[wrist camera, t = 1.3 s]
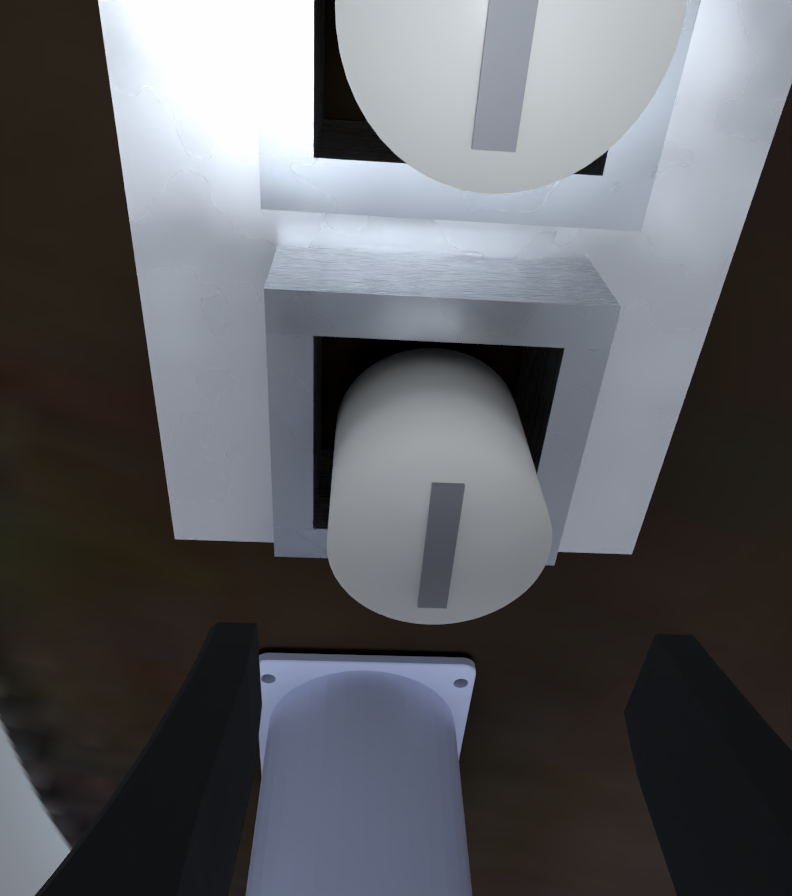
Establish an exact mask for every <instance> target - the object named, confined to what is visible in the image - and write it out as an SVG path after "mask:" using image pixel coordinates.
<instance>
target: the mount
mask: <svg viewBox="0 0 792 896" xmlns="http://www.w3.org/2000/svg"><path fill="white" fill-rule="evenodd" d="M98 3H99V10H100V17H101V24H102V31H103V38H104V45H105V52H106V59H107V66H108V73H109V80H110V87H111V94H112V101H113V108H114V115H115V122H116V129H117V136H118V143H119V150H120V157H121V164H122V171H123V178H124V185H125V192H126V199H127V206H128V213H129V220H130V227H131V234H132V241H133V249H134V256H135V263H136V270H137V277H138V284H139V291H140V298H141V305H142V312H143V319H144V326H145V333H146V340H147V347H148V354H149V361H150V368H151V375H152V382H153V389H154V396H155V403H156V410H157V417H158V424H159V431H160V438H161V445H162V452H163V459H164V466H165V473H166V480H167V487H168V494H169V501H170V508H171V515H172V522H173V529H174V536H175V539H185V540H216V541H246V542H274V555H275V556H276V557H308V558H328V556H327V532H328V520H329V507H330V495H331V482H332V470H333V458H334V450H321V443H322V336H330V337H350V338H371V339H391V340H411V341H432V342H452V343H473V344H493V345H513V346H524V350H523V356H522V361H521V367H520V372H519V377H518V383H517V388H516V394H515V399H514V401H515V404H516V407H517V410H518V414H519V417H520V420H521V424H522V427H523V430H524V434H525V437H526V440H527V444H528V447H529V450H530V454H531V457H532V460H533V464H534V467H535V470H536V474H537V477H538V480H539V483H540V487H541V490H542V493H543V497H544V500H545V503H546V507H547V510H548V513H549V517H550V521H551V526H552V545H551V551H550V554H549V557H548V560H547V563H546V565H555V561H556V557H557V553H558V552H579V553H610V554H632V552H633V549H634V546H635V543H636V540H637V537H638V534H639V532H640V529H641V526H642V523H643V520H644V517H645V514H646V511H647V508H648V505H649V502H650V499H651V496H652V493H653V490H654V487H655V484H656V481H657V478H658V475H659V472H660V470H661V467H662V464H663V461H664V458H665V455H666V452H667V449H668V446H669V443H670V440H671V437H672V434H673V431H674V428H675V425H676V422H677V419H678V416H679V413H680V411H681V408H682V405H683V402H684V399H685V396H686V393H687V390H688V387H689V384H690V381H691V378H692V375H693V372H694V369H695V366H696V363H697V360H698V357H699V354H700V352H701V349H702V346H703V343H704V340H705V337H706V334H707V331H708V328H709V325H710V322H711V319H712V316H713V313H714V310H715V307H716V304H717V301H718V298H719V295H720V292H721V290H722V287H723V284H724V281H725V278H726V275H727V272H728V269H729V266H730V263H731V260H732V257H733V254H734V251H735V248H736V245H737V242H738V239H739V236H740V233H741V231H742V228H743V225H744V222H745V219H746V216H747V213H748V210H749V207H750V204H751V201H752V198H753V195H754V192H755V189H756V186H757V183H758V180H759V177H760V174H761V171H762V169H763V166H764V163H765V160H766V157H767V154H768V151H769V148H770V145H771V142H772V139H773V136H774V133H775V130H776V127H777V124H778V121H779V118H780V115H781V112H782V110H783V107H784V104H785V101H786V98H787V95H788V92H789V89H790V86H791V83H792V0H688V2H687V7H686V12H685V17H684V22H683V27H682V31H681V34H680V37H679V40H678V44H677V47H676V50H675V53H674V56H673V58H672V60H671V63H670V65H669V67H668V70H667V72H666V74H665V77H664V79H663V80H662V82H661V84H660V86H659V87H658V89H657V91H656V93H655V95H654V96H653V98H652V100H651V101H650V103H649V104H648V105H647V107H646V108H645V110H644V111H643V113H642V114H641V115H640V117H639V118H638V120H637V121H636V122H635V123H634V124H633V125H632V126H631V128H630V129H629V130H628V131H627V132H626V133H625V134H624V136H623V137H622V138H621V139H620V140H618V141H617V142H616V143H615V144H614V145H613V146H612V147H611V148H610V149H609V150H607V151H606V152H605V153H604V154H603V155H601V156H600V157H599V158H597V159H596V160H594V161H593V162H592V163H590V164H589V165H588V166H586V167H584V168H583V169H581V170H579V171H577V172H575V173H574V174H572V175H570V176H568V177H566V178H564V179H561V180H559V181H557V182H554V183H552V184H549V185H547V186H543V187H539V188H536V189H532V190H528V191H522V192H515V193H508V194H486V193H478V192H470V191H465V190H461V189H458V188H454V187H450V186H447V185H445V184H442V183H440V182H438V181H435V180H433V179H431V178H429V177H427V176H425V175H424V174H422V173H420V172H419V171H417V170H415V169H414V168H412V167H411V166H409V165H408V164H407V163H406V162H404V161H403V160H402V159H401V158H399V157H398V156H397V155H396V154H395V153H394V152H393V151H392V150H391V149H390V148H389V147H388V146H387V145H386V144H385V143H384V142H383V141H382V140H381V139H380V138H379V136H378V135H377V133H376V132H375V131H374V129H373V128H372V127H371V125H370V124H369V123H368V122H363V121H348V120H333V119H324V114H325V4H326V0H98Z"/></svg>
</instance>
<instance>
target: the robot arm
mask: <svg viewBox="0 0 792 896" xmlns="http://www.w3.org/2000/svg"><path fill="white" fill-rule="evenodd" d="M269 674H270V675H269ZM475 676H476V670H475V663H474V662H473V661H472V660H470V659H468V658H463V657H422V656H381V655H340V654H299V653H263V654H261V655H259V647H258V631H257V624H256V623H219V622H218V623H217V624H215V625H214V626H212V627H211V629H210V631H209V633H208V636H207V638H206V640H205V642H204V644H203V646H202V648H201V651H200V653H199V655H198V657H197V659H196V661H195V662H194V664H193V666H192V668H191V670H190V672H189V674H188V676H187V678H186V679H185V681H184V683H183V685H182V686H181V688H180V690H179V692H178V694H177V695H176V697H175V699H174V701H173V702H172V704H171V706H170V707H169V709H168V711H167V712H166V714H165V715H164V717H163V719H162V720H161V722H160V724H159V725H158V727H157V728H156V730H155V732H154V733H153V735H152V737H151V738H150V740H149V741H148V743H147V745H146V746H145V748H144V749H143V751H142V752H141V754H140V755H139V757H138V758H137V760H136V761H135V763H134V764H133V766H132V767H131V769H130V770H129V772H128V773H127V774H126V776H125V777H124V779H123V780H122V782H121V783H120V785H119V786H118V788H117V789H116V790H115V792H114V793H113V795H112V796H111V798H110V799H109V801H108V802H107V804H106V805H105V806H104V808H103V809H102V811H101V812H100V813H99V815H98V816H97V817H96V819H95V820H94V821H93V823H92V824H91V825H90V827H89V828H88V829H87V831H86V832H85V833H84V835H83V836H82V837H81V839H80V840H79V841H78V843H77V844H76V845H75V846H74V848H73V849H72V850H71V852H70V853H69V854H68V855H67V857H66V858H65V859H64V861H63V862H62V863H61V864H60V866H59V867H58V868H57V869H56V871H55V872H54V873H53V874H52V876H51V877H50V878H49V879H48V880H47V882H46V883H45V884H44V885H43V886H42V888H41V889H40V890H39V891H38V892H37V894H36V895H35V896H228V893H229V888H230V883H231V879H232V874H233V869H234V865H235V860H236V856H237V851H238V846H239V842H240V837H241V832H242V828H243V823H244V818H245V814H246V809H247V804H248V800H249V795H250V790H251V785H252V781H253V776H254V771H255V764H256V755H257V747H258V738H259V747H260V762H261V776H262V778H261V786H260V793H259V800H258V808H257V815H256V823H255V830H254V837H253V845H252V852H251V859H250V867H249V874H248V882H247V889H246V896H472V889H471V879H470V869H469V859H468V849H467V839H466V829H465V819H464V809H463V800H462V790H461V780H460V770H459V756H460V751H461V746H462V741H463V736H464V731H465V726H466V721H467V716H468V711H469V706H470V701H471V696H472V691H473V686H474V681H475ZM624 713H625V718H626V723H627V729H628V734H629V739H630V744H631V749H632V753H633V758H634V763H635V767H636V772H637V776H638V779H639V782H640V785H641V788H642V792H643V795H644V798H645V801H646V804H647V807H648V810H649V813H650V816H651V819H652V822H653V825H654V828H655V831H656V834H657V837H658V840H659V843H660V846H661V849H662V852H663V855H664V858H665V861H666V864H667V867H668V870H669V873H670V876H671V879H672V881H673V884H674V887H675V890H676V893H677V896H792V750H791V749H790V748H789V747H788V746H787V745H786V744H785V743H784V741H783V740H782V739H781V738H780V737H779V736H778V735H777V734H776V733H775V731H774V730H773V729H772V728H771V727H770V726H769V725H768V723H767V722H766V721H765V720H764V719H763V718H762V717H761V715H760V714H759V713H758V712H757V711H756V710H755V708H754V707H753V706H752V705H751V704H750V703H749V701H748V700H747V699H746V698H745V697H744V696H743V694H742V693H741V692H740V691H739V690H738V689H737V687H736V686H735V685H734V684H733V683H732V681H731V680H730V679H729V678H728V677H727V676H726V674H725V673H724V672H723V671H722V670H721V668H720V667H719V666H718V665H717V664H716V663H715V661H714V660H713V659H712V658H711V657H710V655H709V654H708V653H707V652H706V651H705V650H704V648H703V647H702V646H701V645H700V644H699V643H698V641H697V640H696V639H695V638H694V637H693V636H692V635H667V634H655V636H654V639H653V641H652V644H651V646H650V649H649V651H648V654H647V656H646V659H645V661H644V664H643V666H642V669H641V671H640V674H639V677H638V679H637V682H636V684H635V687H634V689H633V692H632V694H631V697H630V699H629V702H628V704H627V707H626V709H625V712H624Z"/></svg>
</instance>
